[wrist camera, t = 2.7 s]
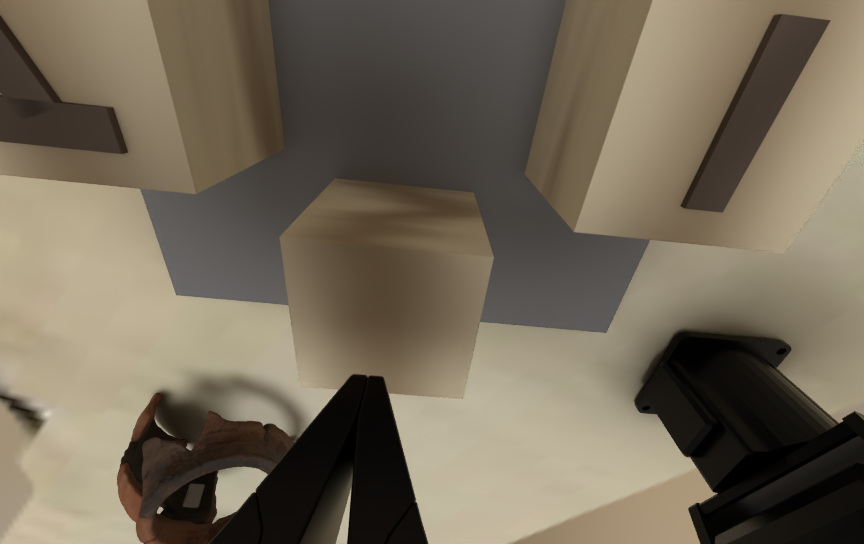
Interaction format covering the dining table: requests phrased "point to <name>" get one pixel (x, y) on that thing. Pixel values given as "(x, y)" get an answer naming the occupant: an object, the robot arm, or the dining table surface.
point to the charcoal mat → (404, 153)
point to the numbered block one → (699, 117)
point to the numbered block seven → (137, 91)
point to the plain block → (387, 286)
